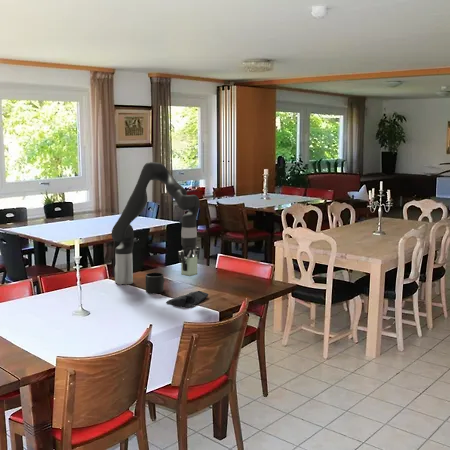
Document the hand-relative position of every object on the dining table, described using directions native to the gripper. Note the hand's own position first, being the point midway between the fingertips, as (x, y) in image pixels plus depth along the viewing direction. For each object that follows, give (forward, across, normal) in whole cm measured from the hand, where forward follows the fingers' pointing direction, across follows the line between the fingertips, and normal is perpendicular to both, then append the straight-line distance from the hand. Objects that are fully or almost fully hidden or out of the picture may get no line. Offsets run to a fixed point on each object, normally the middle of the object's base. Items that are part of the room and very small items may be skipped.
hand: (189, 269), depth 275 cm
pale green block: (+2, 0, 0) cm, 2 cm away
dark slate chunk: (+17, -1, -1) cm, 17 cm away
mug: (+17, -4, -27) cm, 32 cm away
